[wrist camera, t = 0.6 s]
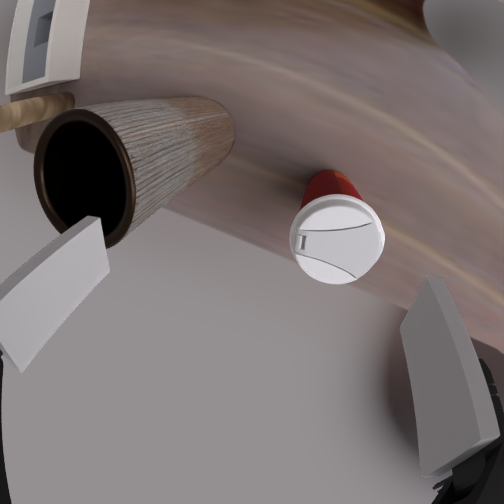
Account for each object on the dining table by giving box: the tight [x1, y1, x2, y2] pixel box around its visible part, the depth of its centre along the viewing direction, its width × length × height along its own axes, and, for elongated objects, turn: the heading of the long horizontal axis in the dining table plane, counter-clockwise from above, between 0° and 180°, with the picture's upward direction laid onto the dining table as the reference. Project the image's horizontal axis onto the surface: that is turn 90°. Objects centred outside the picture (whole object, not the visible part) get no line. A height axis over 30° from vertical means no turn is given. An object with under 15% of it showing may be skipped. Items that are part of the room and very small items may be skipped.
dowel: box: [0, 92, 75, 133], centre depth 29 cm, size 4×4×14 cm
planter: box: [34, 97, 235, 249], centre depth 25 cm, size 10×10×23 cm
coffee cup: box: [289, 170, 385, 284], centre depth 29 cm, size 8×8×15 cm
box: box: [5, 0, 90, 95], centre depth 25 cm, size 22×14×7 cm, turn 173°
